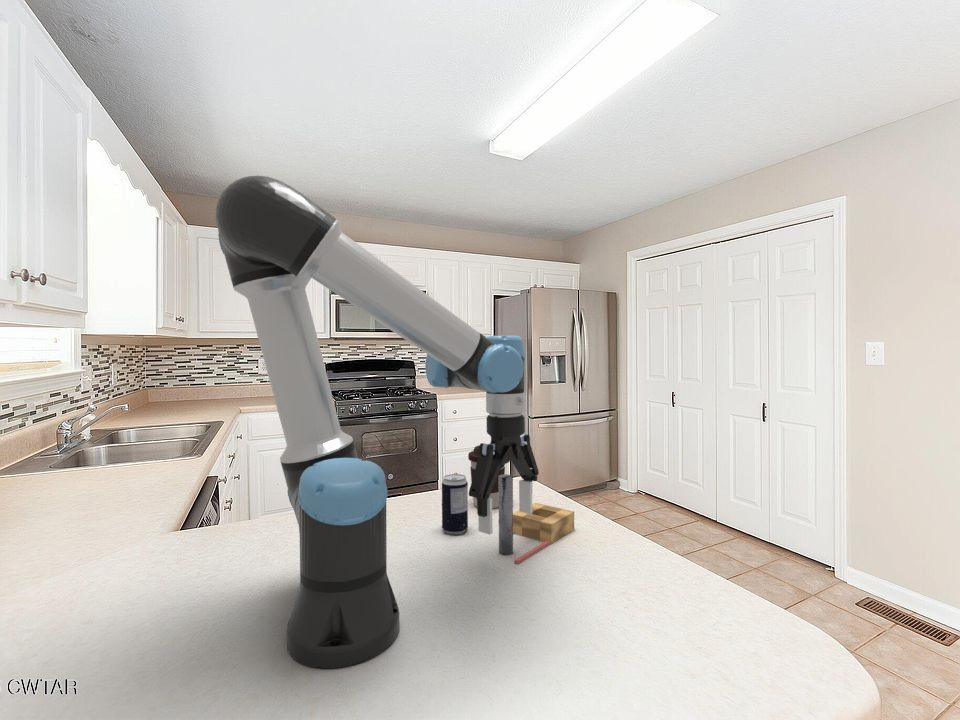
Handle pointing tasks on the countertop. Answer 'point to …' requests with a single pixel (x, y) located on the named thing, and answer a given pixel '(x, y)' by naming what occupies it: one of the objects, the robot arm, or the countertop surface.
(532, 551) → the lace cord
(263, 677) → the countertop surface
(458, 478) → the beverage can
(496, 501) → the coffee cup
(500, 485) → the grey capsule rod
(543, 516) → the wooden square frame
